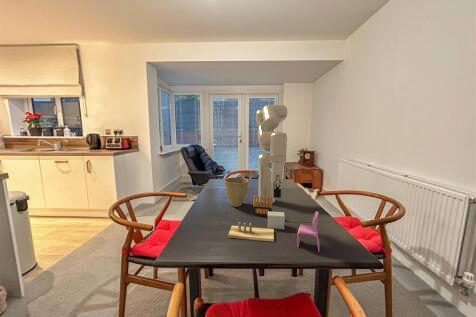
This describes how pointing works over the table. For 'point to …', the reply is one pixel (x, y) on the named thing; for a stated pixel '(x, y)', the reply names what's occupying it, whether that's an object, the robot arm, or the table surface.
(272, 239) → the board
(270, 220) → the pale green notched block
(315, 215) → the toy chair
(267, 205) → the ammunition clip
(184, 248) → the table surface
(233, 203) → the plant pot
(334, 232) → the table surface
